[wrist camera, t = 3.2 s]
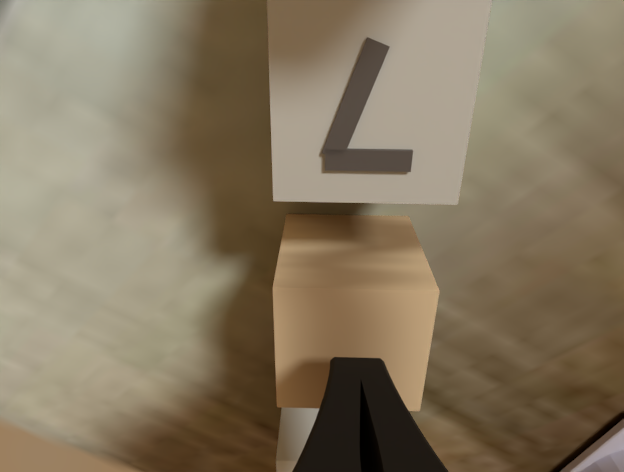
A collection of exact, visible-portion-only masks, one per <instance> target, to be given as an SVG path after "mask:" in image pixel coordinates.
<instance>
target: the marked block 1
mask: <svg viewBox="0 0 624 472" xmlns="http://www.w3.org/2000/svg"><path fill="white" fill-rule="evenodd" d="M318 411H319V408H284V407H282V408H281V418H280V427H279V436H278V445H277V454H276V472H292V471H293V469H294V467H295V465H296V463H297V461H298V459H299V457H300V455H301V453H302V451H303V448H304V446H305V444H306V441H307V439H308V437H309V434H310V432H311V430H312V427H313V425H314V422H315V420H316V417H317V414H318Z"/></svg>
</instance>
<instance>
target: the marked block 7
mask: <svg viewBox="0 0 624 472" xmlns="http://www.w3.org/2000/svg"><path fill="white" fill-rule="evenodd" d="M491 4H492V0H267V22H268V53H269V85H270V116H271V147H272V178H273V201H285V202H339V203H394V204H449V205H458V199H459V193H460V188H461V182H462V176H463V170H464V164H465V158H466V152H467V146H468V140H469V134H470V128H471V122H472V116H473V110H474V105H475V99H476V93H477V87H478V81H479V75H480V69H481V63H482V57H483V51H484V45H485V39H486V33H487V27H488V22H489V16H490V10H491Z"/></svg>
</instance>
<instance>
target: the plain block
mask: <svg viewBox="0 0 624 472" xmlns="http://www.w3.org/2000/svg"><path fill="white" fill-rule="evenodd" d="M438 297H439V289H438V286H437V284H436V281H435V279H434V276H433V274H432V272H431V269H430V267H429V264H428V262H427V260H426V257H425V255H424V252H423V250H422V247H421V245H420V243H419V240H418V238H417V235H416V233H415V231H414V228H413V226H412V223H411V221H410V219H409V216H374V215H321V214H286V219H285V224H284V229H283V235H282V240H281V245H280V251H279V256H278V261H277V267H276V272H275V277H274V282H273V313H274V341H275V369H276V397H277V407H284V408H320V405H321V402H322V399H323V396H324V393H325V389H326V385H327V381H328V377H329V370H330V360H331V359H332V358H334V357H357V358H381V359H382V360H383V361H384V363H385V365H386V368H387V370H388V372H389V375H390V377H391V379H392V381H393V383H394V385H395V387H396V389H397V391H398V393H399V395H400V397H401V399H402V400H403V402H404V404H405V406H406V408H407V409H408V411H420V407H421V401H422V395H423V389H424V383H425V376H426V370H427V364H428V358H429V352H430V346H431V340H432V334H433V328H434V321H435V315H436V309H437V303H438Z"/></svg>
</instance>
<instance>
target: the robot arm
mask: <svg viewBox="0 0 624 472" xmlns="http://www.w3.org/2000/svg"><path fill="white" fill-rule="evenodd" d="M292 472H448V470H447V469H446V468H445V466H444V465H443V463H442V462H441V461H440V459H439V458H438V456H437V455H436V454H435V452H434V451H433V449H432V448H431V446H430V445H429V443H428V442H427V440H426V439H425V437H424V436H423V434H422V432H421V431H420V429H419V428H418V426H417V424H416V423H415V421H414V419H413V418H412V416H411V414H410V413H409V411H408V409H407V408H406V406H405V404H404V402H403V400H402V399H401V397H400V395H399V393H398V391H397V389H396V387H395V385H394V383H393V381H392V379H391V377H390V375H389V372H388V370H387V368H386V365H385V363H384V361H383V360H382V359H381V358H357V357H334V358H332V359H331V360H330V370H329V377H328V381H327V385H326V389H325V393H324V396H323V399H322V402H321V405H320V408H319V411H318V414H317V417H316V420H315V422H314V425H313V427H312V430H311V432H310V434H309V437H308V439H307V441H306V444H305V446H304V448H303V451H302V453H301V455H300V457H299V459H298V461H297V463H296V465H295V467H294V469H293V471H292ZM560 472H624V419H622V420H621V421H620V422H619V423H618V424H616V425H615V426H614V427H613V428H612V429H610V430H609V431H608V432H607V433H606V434H604V435H603V436H602V437H601V438H600V439H598V440H597V441H596V442H595V443H594V444H592V445H591V446H590V447H589V448H587V449H586V450H585V451H584V452H583V453H581V454H580V455H579V456H578V457H577V458H575V459H574V460H573V461H572V462H571V463H569V464H568V465H567V466H566V467H565V468H563V469H562V470H561V471H560Z"/></svg>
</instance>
